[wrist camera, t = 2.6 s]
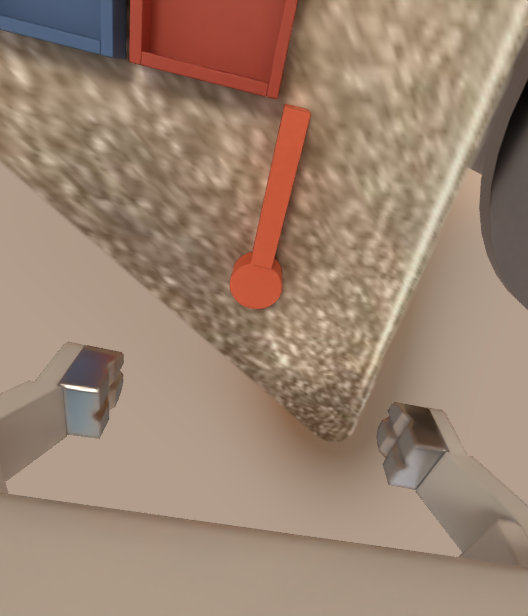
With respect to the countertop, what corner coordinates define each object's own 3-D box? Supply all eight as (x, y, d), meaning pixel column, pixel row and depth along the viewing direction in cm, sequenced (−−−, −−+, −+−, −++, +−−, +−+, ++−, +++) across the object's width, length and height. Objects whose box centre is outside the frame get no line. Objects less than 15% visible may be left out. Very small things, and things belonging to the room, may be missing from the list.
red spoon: (265, 98, 21) (264, 101, 19) (327, 114, 21) (331, 118, 19) (229, 289, 28) (225, 306, 26) (275, 299, 28) (275, 317, 26)
